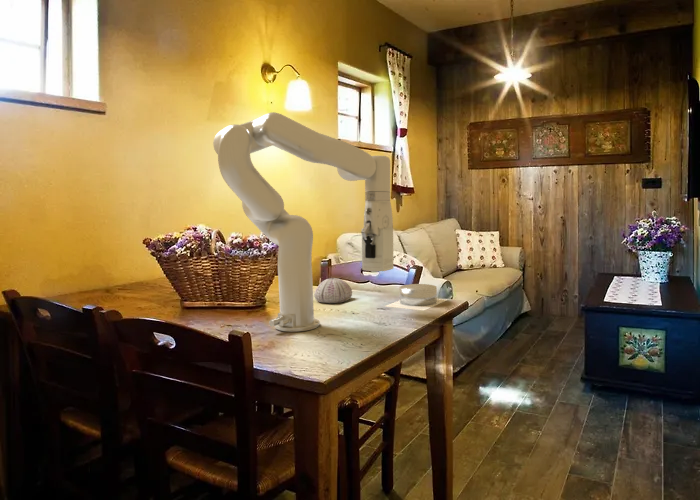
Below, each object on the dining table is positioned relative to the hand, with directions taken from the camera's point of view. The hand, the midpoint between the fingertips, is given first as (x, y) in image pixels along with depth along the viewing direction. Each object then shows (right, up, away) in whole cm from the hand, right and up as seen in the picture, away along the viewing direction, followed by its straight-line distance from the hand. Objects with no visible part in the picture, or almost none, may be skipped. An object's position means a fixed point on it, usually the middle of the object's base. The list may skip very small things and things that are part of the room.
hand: (377, 256), depth 161 cm
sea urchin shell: (-14, -16, +26) cm, 34 cm away
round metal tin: (+14, -15, +14) cm, 25 cm away
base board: (+13, -16, +13) cm, 25 cm away
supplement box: (0, -4, 0) cm, 4 cm away
